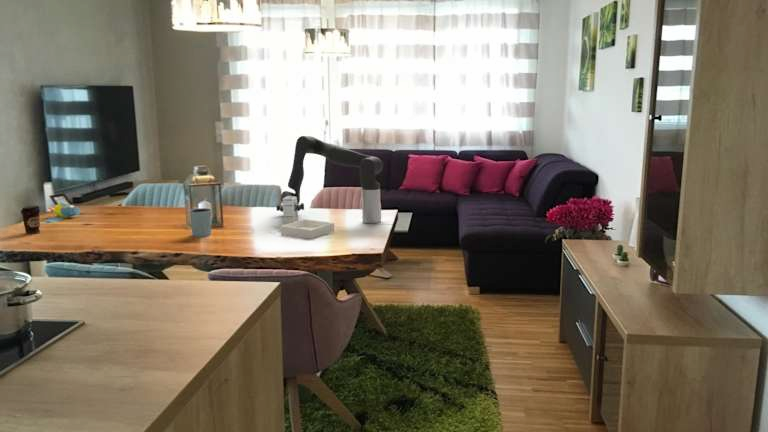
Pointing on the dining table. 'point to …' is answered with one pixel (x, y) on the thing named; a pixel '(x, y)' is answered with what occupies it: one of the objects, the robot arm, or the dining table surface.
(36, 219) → the coffee cup
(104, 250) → the dining table surface
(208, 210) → the grey tapered cup
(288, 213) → the syrup box
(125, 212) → the dining table surface
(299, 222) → the tray
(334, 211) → the dining table surface
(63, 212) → the blue yellow toy
